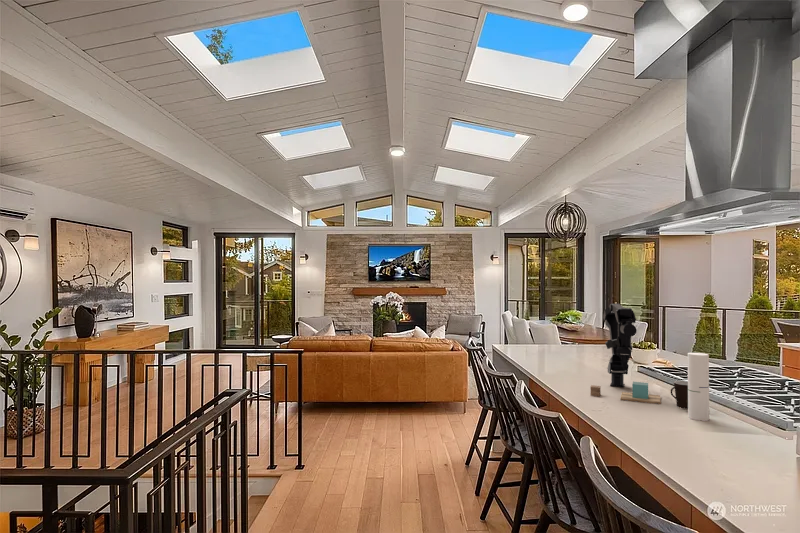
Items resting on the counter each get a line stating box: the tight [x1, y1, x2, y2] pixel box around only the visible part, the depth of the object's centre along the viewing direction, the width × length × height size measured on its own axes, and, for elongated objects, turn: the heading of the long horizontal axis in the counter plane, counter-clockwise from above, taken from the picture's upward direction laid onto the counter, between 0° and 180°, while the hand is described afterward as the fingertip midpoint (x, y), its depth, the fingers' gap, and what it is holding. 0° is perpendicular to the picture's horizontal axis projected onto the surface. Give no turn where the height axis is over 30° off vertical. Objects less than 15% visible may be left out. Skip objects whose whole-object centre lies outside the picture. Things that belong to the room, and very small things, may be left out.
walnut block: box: [590, 384, 602, 397], centre depth 240 cm, size 4×4×4 cm
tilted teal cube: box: [631, 381, 649, 399], centre depth 232 cm, size 6×6×6 cm
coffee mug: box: [670, 380, 688, 410], centre depth 218 cm, size 12×9×10 cm
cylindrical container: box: [687, 352, 710, 422], centre depth 201 cm, size 7×7×25 cm
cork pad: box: [619, 391, 662, 405], centre depth 232 cm, size 14×16×1 cm
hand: (624, 366), depth 245 cm, fingers open, 9 cm apart
